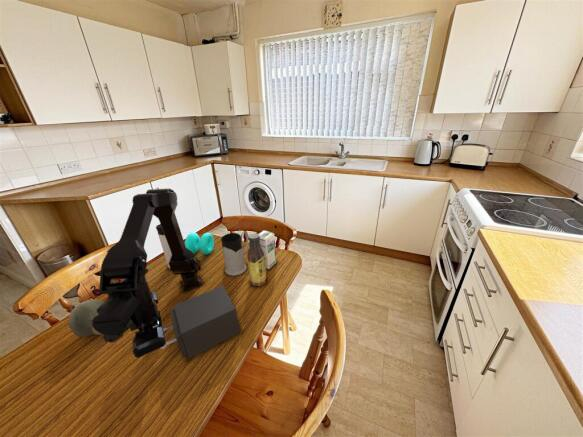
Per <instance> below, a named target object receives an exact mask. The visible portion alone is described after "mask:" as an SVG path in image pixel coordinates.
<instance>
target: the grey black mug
mask: <svg viewBox="0 0 583 437" xmlns="http://www.w3.org/2000/svg"><path fill="white" fill-rule="evenodd" d="M244 234H246V243H245V246H243V236H244ZM248 236H249V233H248V231H242V232H241V234H239V233H238V232H230V233H226V234H223V235H222V236H221V238H220V241H221V249H222V255H223V260H224V265H225V266H224V267H225V269H224V271H225V274H226V275H228V276H239V275H241V274H244V273H245V271H246V270H247V268H248V267H247V265H246V262H245V261H246V260H245V254H246V251H247V249H248V246H249V240H248ZM243 247H244V248H243Z"/></svg>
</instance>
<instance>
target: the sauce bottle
mask: <svg viewBox="0 0 583 437" xmlns="http://www.w3.org/2000/svg"><path fill="white" fill-rule="evenodd" d="M259 239H260V236H259V233H255V232H253V233H250V234H248V246H249V248H247V249H248V250H247V252H246V253H247V254H246V255H247V266H248V267H247V268H248V274H249V280H250V283H251V285H252V286H255V287H260V286H263V285H264V284H266V282H267V268H266V267H265V256H264V252H263V250H262V248H261V246H260V240H259Z"/></svg>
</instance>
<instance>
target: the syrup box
mask: <svg viewBox="0 0 583 437" xmlns="http://www.w3.org/2000/svg"><path fill="white" fill-rule="evenodd" d="M258 234H259V236H260V239H259V240H260V246H261V248H262V250H263V252H264V256H265V267H266V270H270V269H271V268H272V267H273V266H274V265H275V264H276V263H278V261H277V259H278V258H277V250H276V249H277V248H276V240H275V233H274V232H271V231H268V230H262V231H260V232H258Z"/></svg>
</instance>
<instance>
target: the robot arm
mask: <svg viewBox="0 0 583 437" xmlns="http://www.w3.org/2000/svg"><path fill="white" fill-rule="evenodd" d="M177 207H178V195H177V193H176V192H175V190H174V189H172V188H171V187H170V188H154V189H153V188H152V189H147V190H146V193H137V194H135V195H133V197H132V206H131V209H130V212H129V214H128V216H127V220H126V223H125V225H124V228H123V230H122V233H121V236H120V238H119V240H118V241H117V242H116V243H115V244H114V245H112V246H111V247H110V248H109V249H108V250H107V253H106V254H105V256H104V258H103V260H102V262H101V266H100V274H99V275H100V277H99V286H98V287H99V289H98V294H99V295H107V297H106V299H105V300H104V303H103V304H101V305H100V306H99V307H98V309H97V313H98V314H97V315H96V316H95V317H94V319H93V321H92V323H93V324H92V326H93V328H94V329H95V330H96V331H97V332H99V333H101V334H100V335H101V336H102V339H103V340H104V342H105V343H110V344H114V343H115V342H117V341H118V340H120V339H121V338H123V337H124V333H127V331H129V330H130V332H133V331H135V332H134V337H133V339H132V340H131V342H132V343H131V344H132V345H131V346H132V353H133V355H134V358H136V359H139V358H142V357H143V356H146V355H148V354H151V353H152V352H154V351H157V350H159V349H160V348H161V347H163V346H164V345H165V344H166V342H167V341H166V336H165V335H166V334H165V332H164V331H163V329H164V324H163V321H162V313H161V311H160V310H159V308H158V304H160V302H159V297H158V295H157V292H155V291H151V288H150V285H149V283H148V281H147V277H146V275H147V273H148V272H149V268H147V265H148V262H147V261H148V254H147V250H146V249H145V244H146V240H147V237H148V233H149V230H150V226H151V223H152V220H153V217H155V218H157V219H158V221H159V224H161V227H162V229H163V232H164V235H165V237H166V240H167V243H168V245H169V248H170V251H171V253H172V256H171V258H170V261H169V266H170V269H169V270H170V271H171V272H172V274H173V275H174V276H176V275H180V278H181V280H180V283H181V286H182V290H183V292H186V291H188V290H189V291H190V290H191V289H194V288H197V287H200V286H201V285H202V281H201V278H200V276H199V275H198V273H199V272H200V271H202V266H201V265H202V263H201V260H200V259H198V258H196V256H195V254H193V252H192V251H190V250H189V249H187V248H186V246H185V240H184V237H183V233H182V231H181V228H180V225H179V222H178V219H177V216H176V213H175V212H176V210H177ZM115 280H121V281H119V282H111V281H115ZM136 330H137V331H136Z"/></svg>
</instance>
